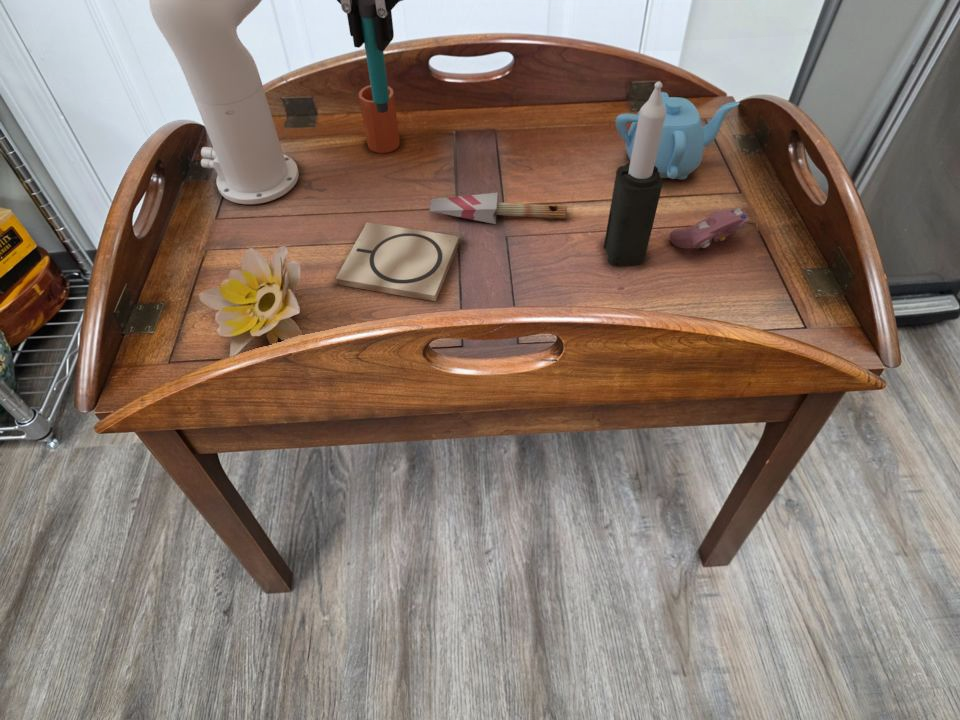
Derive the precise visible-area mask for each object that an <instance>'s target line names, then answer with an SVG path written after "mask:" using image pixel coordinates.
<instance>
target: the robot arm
mask: <svg viewBox="0 0 960 720" xmlns="http://www.w3.org/2000/svg"><path fill="white" fill-rule="evenodd" d="M148 1H149V3H148V4H149V10H150V13H151V15H152V19H153V20H154V22H155V24H156V26H157V28H158V29H159V31H160V33H161V34H162V36H163V38H164V39H165V40H166V41H165V42H167V44H168V46H169V47H170V49H171V51H172V53H173V54H174V56H175V58H176V60H177V62H178V65H179V66H180V68H181V71H182V73H183V75H184V78H185V81H186V83H187V86H188V88H189V90H190V93H191V95H192V97H193V100H194V104H195V105H196V107H197V111H198V112H199V115H200V118H201V120H202V123H203V125H204V128H205V130H206V133H207V136H208V139H209V141H210V142H211V146H212V147H210V146H209V147H208V146H203V147H201V150H200V155H201V160H200V167H201V168H204V169H213V170H214V171H216V174H217V176H216V182H215V183H216V187H217V189H218V192H219V194H220V195H221V196H222V197H223V198H224V199H226V200H228V201H230V202H232V203H235V204H240V205H260V204H264V203H268V202H271V201H272V202H273V201H274V200H276V199H279V198H281V197H283V196H284V195H286V194H288V193H289V192H290V191H291V190H292V189H293V188H294V187H295V185H296V184H297V182H298V179H299V176H300V172H299V168H298V164H297V162H295V160H294V159H292V158H291V157H290V156H288V155H286V154H284V152H283V150H282V146H281V143H280V139H279V135H278V133H277V129H276V125H275V122H274V119H273V115H272V111H271V109H270V106H269V103H268V102H269V101H268V99H267V96H266V92H265V88H264V85H263V82H262V79H261V76H260V75H261V74H260V72H259V68H258V65H257V63H256V60H255V59H254V58H253V57H254V56H252V54H251V53H250V51H249V50H248V48H247V47H246V46H245V45H244V44H243V43H242V41H241V39H240V38H239V36H238V35H239V34H238V31H237V29H238V27H239V26H240V24H242V22H243V21H244V20H245V19H246V18H247V17H248V16H249V15H250V14H251V13H252V12H253V11H254V10H255V9H256V8H258V6H259V5H260V4H261V2H262V1H263V0H148ZM336 1H337V2H338V3H339V4H340V7H341V11H343V13H345V14H346V17H347V24H348V28H349V35H350V36H351V37H352V41H353V47H354V48H358V49H359V48H361V47H362V46H363V45H364V37H363V31H362V24H361V17H360V15H359V10H358V3H357V2H358V0H336ZM402 1H403V2H404V0H375V4H376V12H377V15H376V16H375V17H374V28H375V35H376V43H377V49H379V51H383V52H384V51H386V48H387V47H388V46H389V45H390V43H391V42H392V41H393V39H394V37H395V36H394V33H395V31H394V22H393V14H392V10H393V9H394V8H395V7H396V6H397V5H398V4H399V3H400V2H402Z"/></svg>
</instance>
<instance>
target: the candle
mask: <svg viewBox="0 0 960 720" xmlns="http://www.w3.org/2000/svg"><path fill="white" fill-rule="evenodd" d="M662 88H663V83H662V82H661V81H656V82H655V83H654V89H653V91H652V93H651V94H650V96H649V97H648V100H647V101H646V102H644V104H643V105H642V106H641V107H640V110H639V111H640V113H639V119H638V124H637V129H636V135H635V140H634V145H633V151H632V156H631V161H629V162H627V163H626V164H624V165H620V166H618V167H617V169H616V171H615V172H616V173H615V179H614V183H613V184H614V185H613V189H612V190H613V191H612V196H611V202H610V207H609V214H608V220H607V225H606V231H605V238H604V243H603V249H604V250H605V252H606V256H607V262H608V264H609V265H611V266H613V267H626V266H639V265H642V264H644V263H645V260H646V256H647V251H648V247H649V243H650V239H651V235H652V230H653V227H654V222H655V219H656V215H657V210H658V206H659V201H660V197H661V193H662V188H663V185H664V183H663V180H662V178H661V177H660V175H659V174H660V173H659V172H658V168H657V167H656V166H655V160H656V156H657V151H658V147H659V142H660V138H661V133H662V129H663V124H664V120H665V115H666V109H665V107H664V105H663V103H662V96H661V92H662Z"/></svg>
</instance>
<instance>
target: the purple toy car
mask: <svg viewBox="0 0 960 720" xmlns="http://www.w3.org/2000/svg"><path fill="white" fill-rule="evenodd" d="M750 223H751V218H749V217H748V214H747V213H746V212H745V211H743V209H741V207H734V208H730V209H726V210H717V211H714V212H712V213H711V214H710V215H709V216H708V217H706V218H704V219H702V220H700V221H698V222H696V223H694V224H693V225H691V226H689V227H685V228H675V229H673V230H672V231H670V233H669V241H670V243H671V244H672V245H674V246H675V247H678V248H682V249H688V248H689V249H690V248H692V249H694V248H695V250H698V249H700V248H701V249H702V248H703V249H706V248H708V247H709V246H710V244H711V242H712V240H713V242H714V243H716V242H718V241H720V242H723V241H724V240H726V238H727V237H728V236H730V235H731V234H734V233H735V232H737V231H739V230H742V229H743V228H744V227H745V226H747V225H748V224H750Z"/></svg>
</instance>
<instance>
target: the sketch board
mask: <svg viewBox="0 0 960 720" xmlns="http://www.w3.org/2000/svg"><path fill="white" fill-rule="evenodd" d="M460 243H461V242H460V236H459V235H453V234H447V233H441V232H434V231H428V230H422V229H421V230H420V229H414V228H408V227H401V226H394V225H388V224H384V223H383V224H381V223H375V222H371V221H370V222H369V221H367V222H366V223H365V225H364V226H363V228H362V229H361V232H360V233H359V236H358V237H357V239H356V241H355V243H354V244H353V247H352V248H351V249H350V252H349V253H348V255H347V257H346V259H345V261H344V262H343V264H342V266H341V268H340V269H339V271H338V273H337V275H336V276H335V282H336V285H337V286H343V287H349V288H353V289H354V288H355V289H359V290H366V291H373V292H376V293H377V292H378V293H385V294H389V295H395V296H400V297H401V296H402V297H407V298H412V299H419V300H424V301H429V302H437V299H438V297H439V294H440V293H441V289H442V287H443V284H444V282H445V280H446V277H447V275H448V272H449V270H450V267H451V265H452V263H453V260H454V257H455V255H456V252H457V250H458V247H459V245H460Z"/></svg>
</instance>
